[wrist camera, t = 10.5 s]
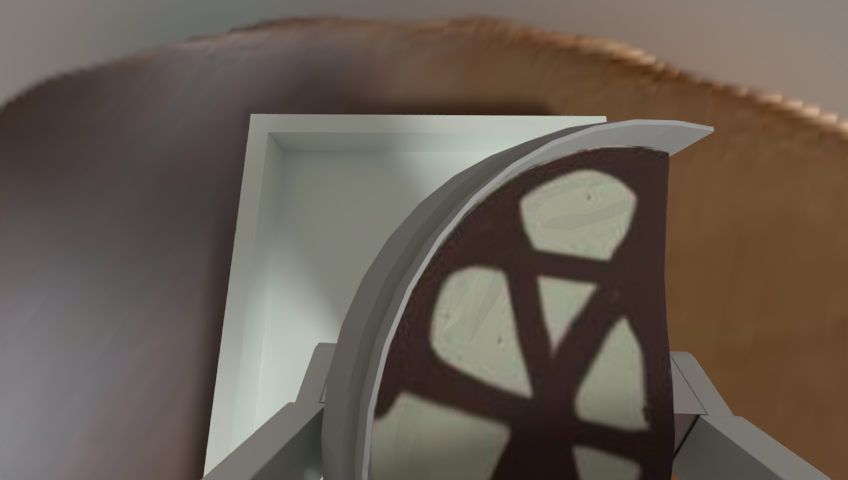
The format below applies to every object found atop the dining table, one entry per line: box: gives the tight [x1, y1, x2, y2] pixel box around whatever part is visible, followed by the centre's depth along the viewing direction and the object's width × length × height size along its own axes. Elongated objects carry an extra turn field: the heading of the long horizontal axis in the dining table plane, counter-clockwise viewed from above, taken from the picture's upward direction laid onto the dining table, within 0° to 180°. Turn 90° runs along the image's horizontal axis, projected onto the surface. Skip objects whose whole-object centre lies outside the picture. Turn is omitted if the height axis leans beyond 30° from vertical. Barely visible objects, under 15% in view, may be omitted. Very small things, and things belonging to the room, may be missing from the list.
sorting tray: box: [203, 114, 606, 480], centre depth 19 cm, size 18×24×3 cm
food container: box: [321, 119, 714, 480], centre depth 11 cm, size 12×6×10 cm, turn 171°
